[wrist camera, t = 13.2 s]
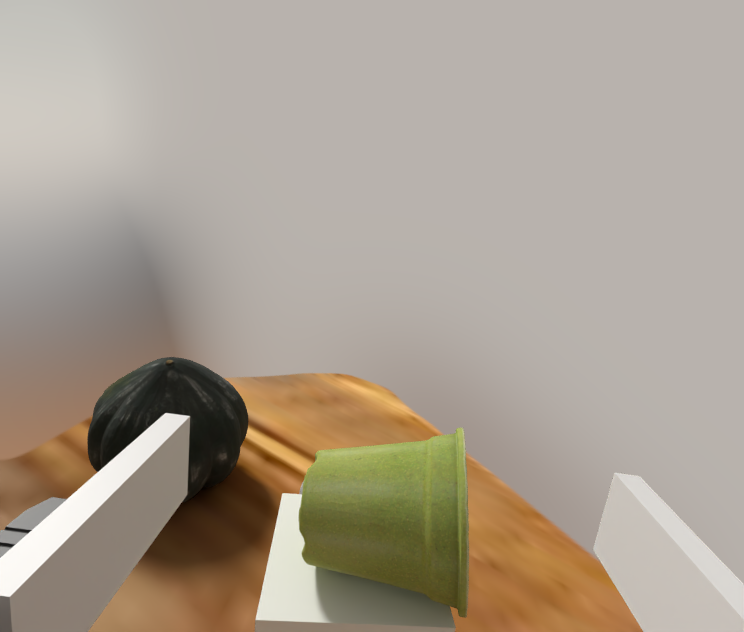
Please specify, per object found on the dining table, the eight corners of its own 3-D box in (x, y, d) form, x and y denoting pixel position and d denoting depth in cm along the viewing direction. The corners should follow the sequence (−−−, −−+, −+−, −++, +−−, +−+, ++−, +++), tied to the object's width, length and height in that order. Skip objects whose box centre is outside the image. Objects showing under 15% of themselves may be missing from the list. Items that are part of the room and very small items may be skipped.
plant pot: (322, 592, 28) (464, 605, 26) (272, 613, 19) (473, 633, 18) (337, 440, 32) (459, 445, 31) (300, 404, 24) (466, 408, 22)
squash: (190, 385, 57) (124, 314, 46) (288, 421, 52) (241, 351, 40) (114, 490, 50) (11, 437, 38) (219, 545, 45) (137, 503, 33)
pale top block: (249, 700, 23) (255, 620, 21) (277, 553, 32) (282, 493, 31) (440, 704, 23) (455, 627, 22) (411, 560, 33) (421, 502, 32)
